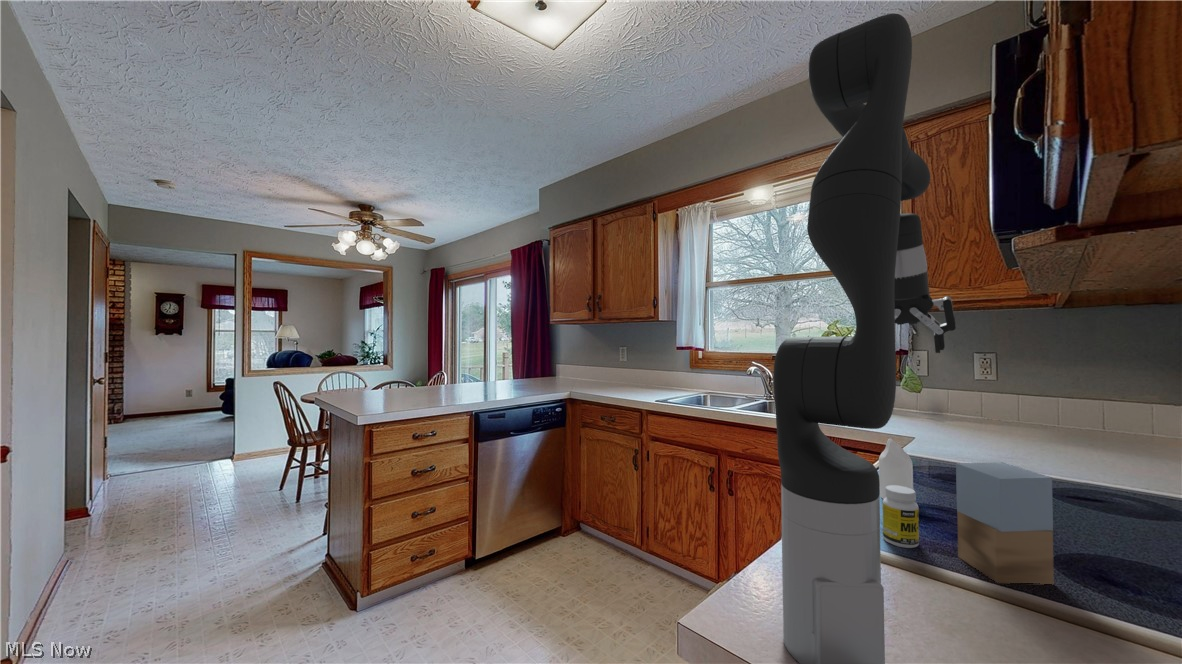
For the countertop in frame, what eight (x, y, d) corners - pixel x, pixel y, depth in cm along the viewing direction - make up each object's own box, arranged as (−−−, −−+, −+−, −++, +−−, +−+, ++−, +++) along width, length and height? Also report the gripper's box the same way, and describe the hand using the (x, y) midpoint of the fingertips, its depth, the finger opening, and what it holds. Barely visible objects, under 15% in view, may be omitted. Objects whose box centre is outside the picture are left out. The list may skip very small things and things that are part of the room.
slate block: (1053, 530, 59) (1052, 477, 59) (1001, 531, 59) (1000, 478, 59) (1003, 509, 66) (1002, 462, 66) (956, 510, 66) (955, 463, 66)
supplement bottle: (903, 550, 68) (902, 495, 69) (875, 537, 73) (875, 485, 73) (926, 546, 70) (926, 492, 70) (898, 533, 74) (897, 482, 74)
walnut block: (1053, 584, 59) (1052, 531, 59) (996, 583, 60) (995, 530, 60) (1008, 558, 66) (1007, 510, 66) (958, 556, 66) (957, 509, 66)
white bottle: (920, 441, 87) (896, 443, 86) (921, 502, 87) (897, 505, 86) (892, 434, 93) (870, 436, 92) (893, 492, 93) (871, 494, 92)
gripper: (855, 280, 86) (865, 360, 89) (950, 269, 77) (957, 358, 80) (861, 272, 92) (870, 347, 95) (950, 261, 83) (957, 344, 86)
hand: (910, 352), depth 88 cm, fingers open, 8 cm apart
